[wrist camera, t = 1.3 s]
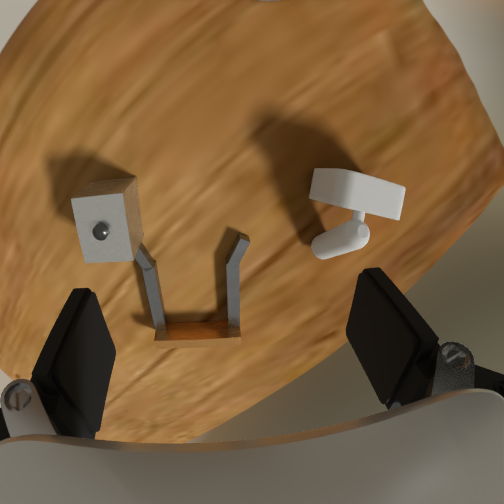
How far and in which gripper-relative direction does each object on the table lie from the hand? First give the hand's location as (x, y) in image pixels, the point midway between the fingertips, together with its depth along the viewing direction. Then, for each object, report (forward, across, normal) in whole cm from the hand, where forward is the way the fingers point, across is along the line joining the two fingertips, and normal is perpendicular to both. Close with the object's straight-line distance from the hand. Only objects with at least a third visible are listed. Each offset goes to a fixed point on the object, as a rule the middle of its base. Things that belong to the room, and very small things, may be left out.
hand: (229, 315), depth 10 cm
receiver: (+24, +4, +16) cm, 29 cm away
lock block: (+24, +11, +4) cm, 27 cm away
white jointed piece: (+24, -14, +5) cm, 28 cm away
